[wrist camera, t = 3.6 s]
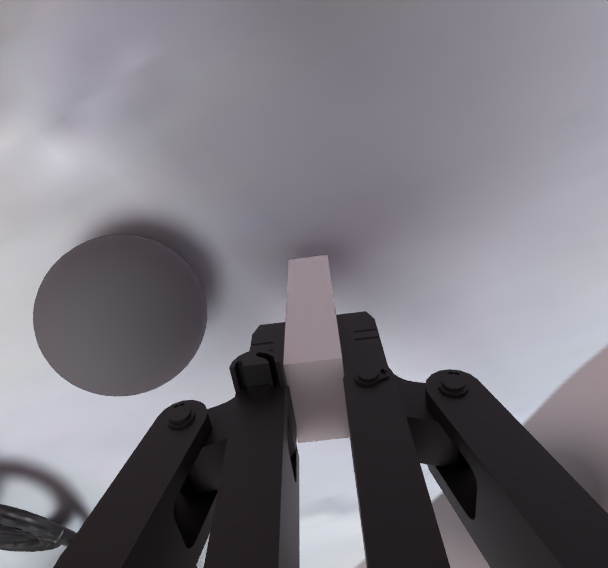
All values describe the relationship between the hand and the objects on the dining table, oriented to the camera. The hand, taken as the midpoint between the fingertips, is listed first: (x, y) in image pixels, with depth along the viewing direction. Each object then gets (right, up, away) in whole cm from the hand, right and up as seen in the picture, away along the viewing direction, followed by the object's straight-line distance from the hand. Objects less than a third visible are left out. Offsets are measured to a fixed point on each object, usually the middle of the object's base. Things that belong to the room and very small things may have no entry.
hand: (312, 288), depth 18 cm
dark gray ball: (-7, -1, -1) cm, 7 cm away
